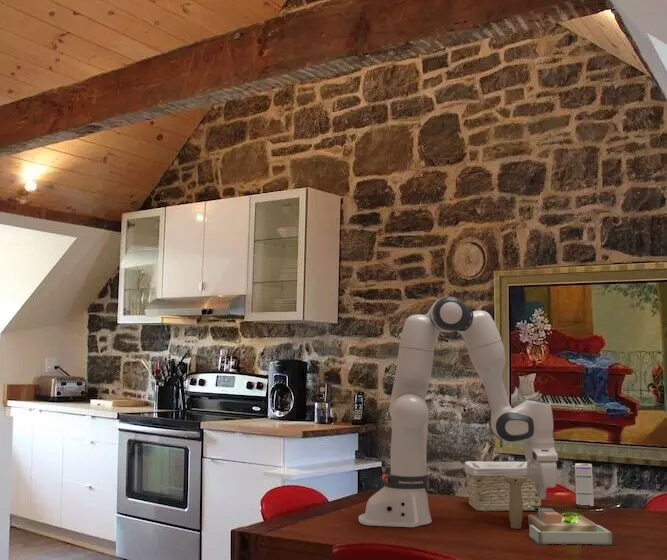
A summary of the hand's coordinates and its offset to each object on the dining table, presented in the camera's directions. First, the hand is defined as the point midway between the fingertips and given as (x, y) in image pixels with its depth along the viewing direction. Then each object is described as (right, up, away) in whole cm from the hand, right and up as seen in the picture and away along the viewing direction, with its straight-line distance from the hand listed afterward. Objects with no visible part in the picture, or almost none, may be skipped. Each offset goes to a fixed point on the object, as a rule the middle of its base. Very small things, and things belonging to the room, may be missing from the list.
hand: (541, 498), depth 244 cm
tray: (+2, -5, -23) cm, 24 cm away
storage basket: (-6, -11, +26) cm, 29 cm away
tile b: (-1, -4, -7) cm, 8 cm away
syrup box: (+22, -11, +27) cm, 36 cm away
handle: (-10, -7, -7) cm, 14 cm away
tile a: (0, -3, -13) cm, 13 cm away
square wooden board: (+3, -7, -10) cm, 13 cm away
